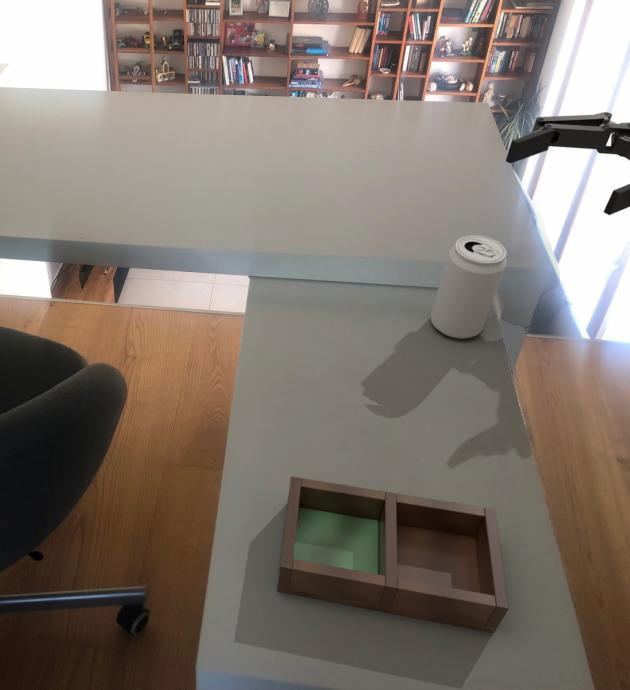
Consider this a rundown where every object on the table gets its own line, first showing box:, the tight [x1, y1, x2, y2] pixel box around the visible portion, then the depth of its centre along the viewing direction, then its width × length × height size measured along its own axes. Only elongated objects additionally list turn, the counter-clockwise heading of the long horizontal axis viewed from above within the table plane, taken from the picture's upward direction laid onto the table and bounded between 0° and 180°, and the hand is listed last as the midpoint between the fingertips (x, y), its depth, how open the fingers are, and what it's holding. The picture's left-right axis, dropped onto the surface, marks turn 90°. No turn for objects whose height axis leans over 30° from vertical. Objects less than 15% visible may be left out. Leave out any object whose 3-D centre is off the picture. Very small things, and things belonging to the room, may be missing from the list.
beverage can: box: [430, 234, 508, 339], centre depth 85 cm, size 6×6×12 cm
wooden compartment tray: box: [276, 476, 510, 634], centre depth 63 cm, size 19×10×4 cm, turn 77°
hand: (558, 176), depth 79 cm, fingers open, 13 cm apart
